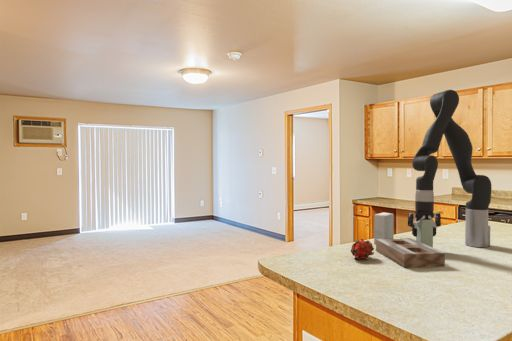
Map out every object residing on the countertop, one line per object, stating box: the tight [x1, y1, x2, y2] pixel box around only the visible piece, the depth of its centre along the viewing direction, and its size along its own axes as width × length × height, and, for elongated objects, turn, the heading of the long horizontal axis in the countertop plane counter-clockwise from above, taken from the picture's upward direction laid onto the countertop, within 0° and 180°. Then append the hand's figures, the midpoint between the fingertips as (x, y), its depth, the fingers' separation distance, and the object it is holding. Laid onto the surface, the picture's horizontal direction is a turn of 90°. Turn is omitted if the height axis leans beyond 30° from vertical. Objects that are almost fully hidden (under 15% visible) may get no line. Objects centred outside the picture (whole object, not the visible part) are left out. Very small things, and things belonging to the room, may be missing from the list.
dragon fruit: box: [350, 238, 375, 260], centre depth 150 cm, size 8×8×12 cm
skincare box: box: [373, 211, 395, 245], centre depth 176 cm, size 8×6×15 cm
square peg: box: [415, 219, 434, 248], centre depth 164 cm, size 5×5×14 cm
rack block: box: [375, 237, 446, 269], centre depth 151 cm, size 16×26×5 cm, turn 5°
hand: (424, 236), depth 164 cm, fingers open, 8 cm apart
